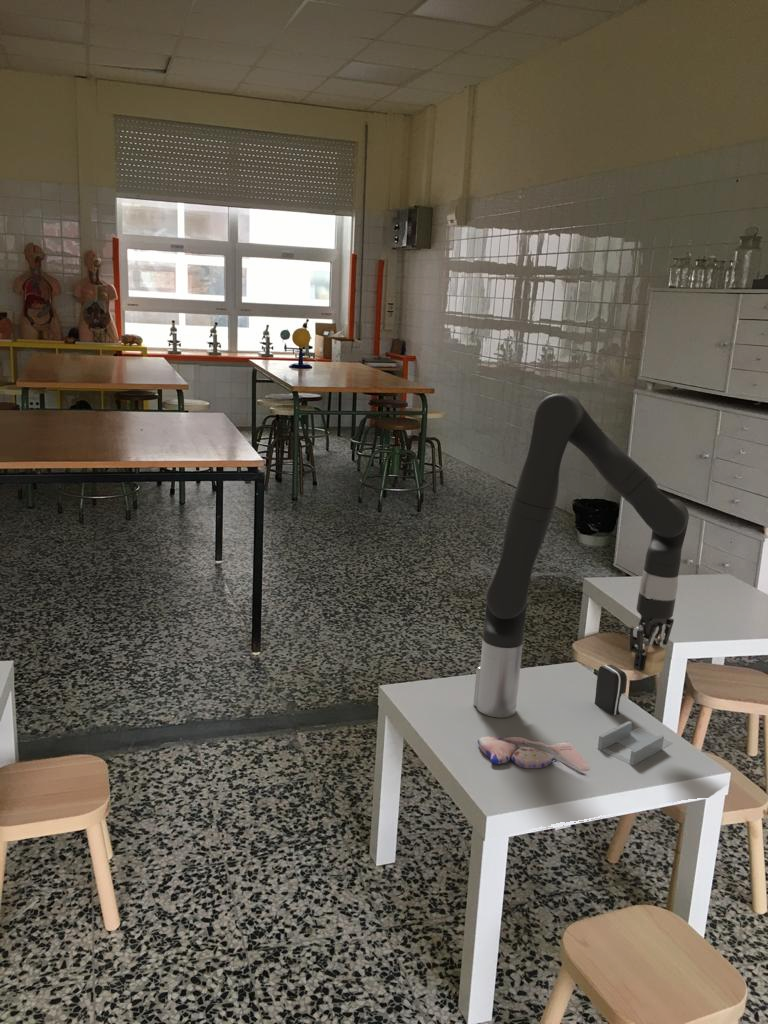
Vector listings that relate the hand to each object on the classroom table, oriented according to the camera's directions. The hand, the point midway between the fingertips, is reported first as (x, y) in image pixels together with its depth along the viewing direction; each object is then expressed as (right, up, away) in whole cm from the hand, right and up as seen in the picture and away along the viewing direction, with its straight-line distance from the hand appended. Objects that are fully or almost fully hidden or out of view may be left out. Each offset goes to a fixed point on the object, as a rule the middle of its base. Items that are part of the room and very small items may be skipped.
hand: (645, 666), depth 184 cm
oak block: (0, -1, 0) cm, 1 cm away
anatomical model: (-26, -19, -6) cm, 33 cm away
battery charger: (-3, -14, +17) cm, 23 cm away
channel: (-2, -18, 0) cm, 18 cm away
